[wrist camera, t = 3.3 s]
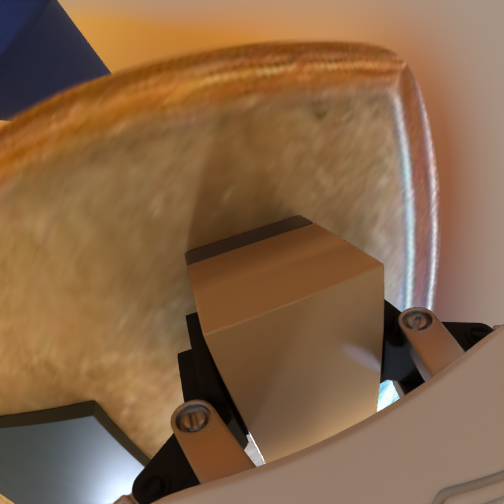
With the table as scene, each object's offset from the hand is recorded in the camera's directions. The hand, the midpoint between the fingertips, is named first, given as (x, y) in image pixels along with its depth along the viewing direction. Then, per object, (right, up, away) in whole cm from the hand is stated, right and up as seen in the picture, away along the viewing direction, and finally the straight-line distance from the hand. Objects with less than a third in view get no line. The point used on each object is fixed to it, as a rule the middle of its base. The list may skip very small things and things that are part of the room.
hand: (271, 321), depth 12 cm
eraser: (0, 0, +1) cm, 1 cm away
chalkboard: (-14, -17, +3) cm, 22 cm away
